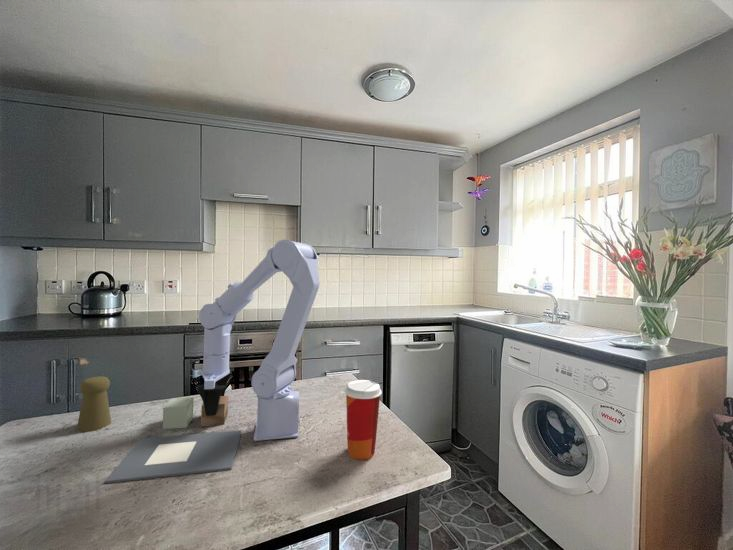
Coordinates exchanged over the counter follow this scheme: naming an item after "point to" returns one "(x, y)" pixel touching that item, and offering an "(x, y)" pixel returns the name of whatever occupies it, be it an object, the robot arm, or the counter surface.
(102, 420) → the cork
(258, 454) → the counter surface
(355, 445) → the paper cup
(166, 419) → the sage block
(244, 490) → the counter surface
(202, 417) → the walnut block
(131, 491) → the counter surface
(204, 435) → the mat
